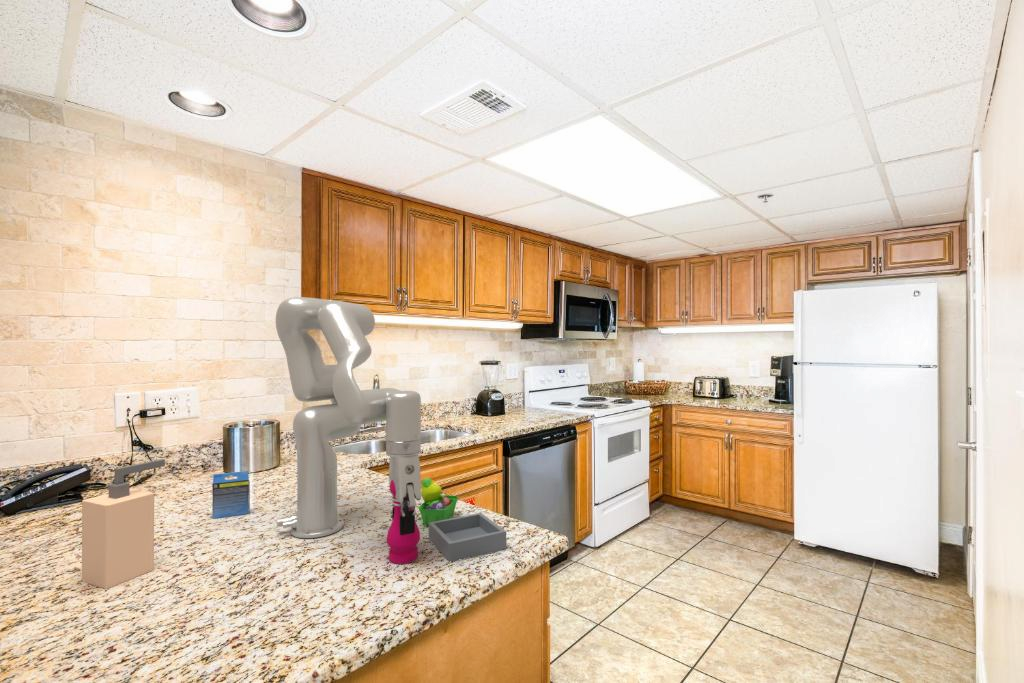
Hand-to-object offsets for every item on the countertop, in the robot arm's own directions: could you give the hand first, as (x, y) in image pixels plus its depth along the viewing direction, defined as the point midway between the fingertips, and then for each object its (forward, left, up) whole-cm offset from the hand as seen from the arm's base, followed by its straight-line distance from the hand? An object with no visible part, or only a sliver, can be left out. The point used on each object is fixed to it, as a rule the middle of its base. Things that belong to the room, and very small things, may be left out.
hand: (403, 527), depth 104 cm
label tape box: (-35, +50, -7) cm, 61 cm away
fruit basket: (+14, +18, -7) cm, 24 cm away
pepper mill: (0, 0, -7) cm, 7 cm away
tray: (+15, 0, -7) cm, 16 cm away
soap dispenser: (-52, +22, -7) cm, 57 cm away
